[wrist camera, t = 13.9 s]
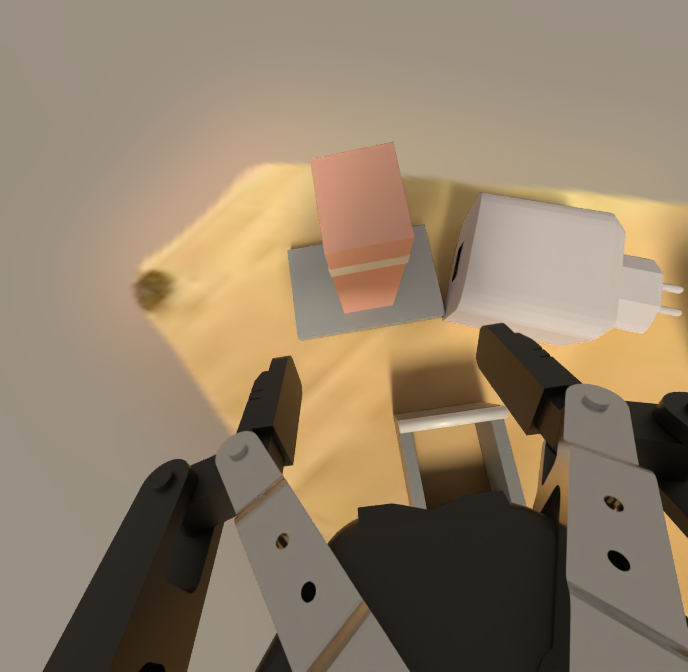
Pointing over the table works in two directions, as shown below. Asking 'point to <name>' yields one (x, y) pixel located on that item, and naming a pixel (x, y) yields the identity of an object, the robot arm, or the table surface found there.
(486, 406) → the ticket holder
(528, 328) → the charger
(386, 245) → the pink rectangular box
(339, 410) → the table surface
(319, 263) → the mat
